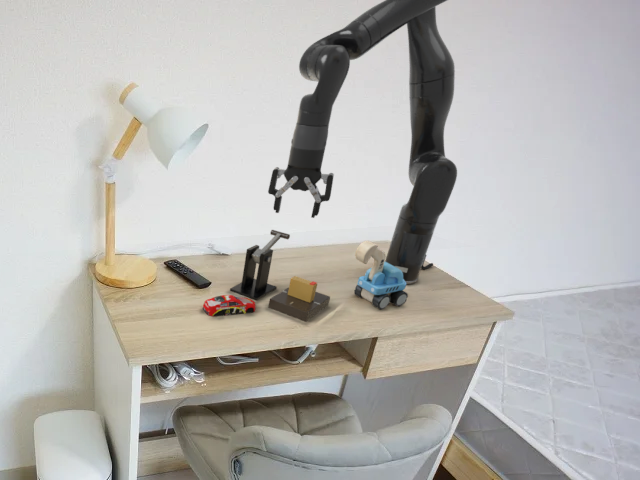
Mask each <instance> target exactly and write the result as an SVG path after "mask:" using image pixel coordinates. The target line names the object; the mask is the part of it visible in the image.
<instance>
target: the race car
mask: <svg viewBox="0 0 640 480" xmlns="http://www.w3.org/2000/svg"><path fill="white" fill-rule="evenodd" d="M256 307H257V304H256V302H255V300H253V299H250V298H248V297H245V296H242V297H241V296H235V295H233V294H223V295H217V296H214V297H211V298H208V299H205V300H204V303H203V305H202V311H204V313H205V314H206V315H208V316H211V317H224V316H234V315H245V314H251V313H255V311H256Z"/></svg>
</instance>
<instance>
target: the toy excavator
mask: <svg viewBox="0 0 640 480" xmlns="http://www.w3.org/2000/svg"><path fill="white" fill-rule="evenodd" d="M354 256H355V259H356V260H357V261H359V262H360V263H362V264H364V265H367V264H368V262H369V260H370V259H371V258H372V259H373V263H372V266H371V267H370V268H368V269H366V271H365V274H364V275H361V276H359V277H358V279H357V284H356V285H355V289H354V293H353V294H354V295H355V296H356V297H358V298H360V299H364V300H366V301H368V302H369V303H371V305H372V307H374V308H377V309H378V310H385V309H386V308H387V307H388V306H389V305H390V304H392V305H394V306H395V307H402V306H403V305H404V304H405V303H406V302H407V299H408V297H409V293H408V292H406V291H404V290H405V289H406V286H407V284H406V282H405V280H404V279H403V273H402V271H401V270H400V269H398V268H396V267H395V266H393V265H391V264H389V263H387V262H385V260H386V257H387V254H386V253H385V251H383V250H382V249H380V248H379V245H378V244H376V243H375V242H372V241H370V240H364V241H362V242H361V243H360V244H359V245H358V246H357V248H356V250H355V253H354Z"/></svg>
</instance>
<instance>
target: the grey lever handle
mask: <svg viewBox="0 0 640 480" xmlns="http://www.w3.org/2000/svg"><path fill="white" fill-rule="evenodd" d="M270 235H271V236H273V237H272V238H271V239H270V240H269V241H268V242H267V243H266V244H265V245H264V246H263V248H260V247H259V248H258V249H257V250H256V251H255V252H254V253H253V254H252V262H255V263H256V264H258V265H259V261H260V255H261V253H263V252H265V251H267V250H269V249H272V247H274V246H275V244H277V243H278V241H279V240H280V239H281V238H282V239H284V240H289V239H290V237H291V234H289V233H286V232H282V231H279V230H275V229H271V230H270Z"/></svg>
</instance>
